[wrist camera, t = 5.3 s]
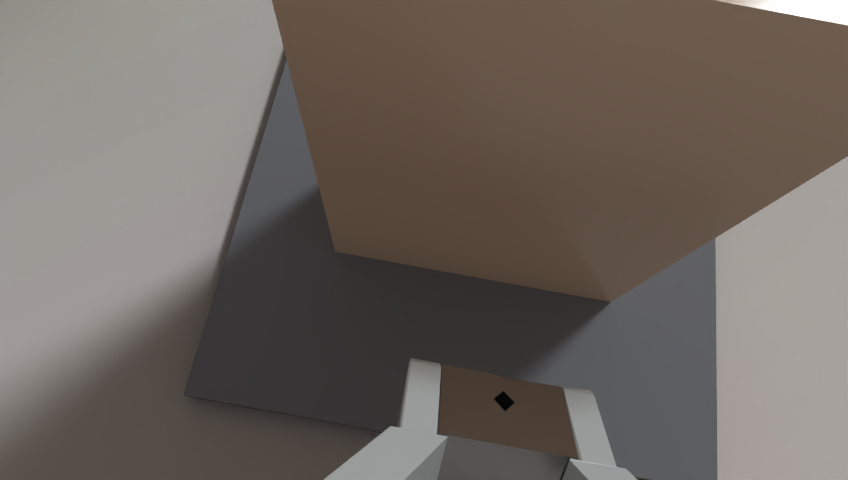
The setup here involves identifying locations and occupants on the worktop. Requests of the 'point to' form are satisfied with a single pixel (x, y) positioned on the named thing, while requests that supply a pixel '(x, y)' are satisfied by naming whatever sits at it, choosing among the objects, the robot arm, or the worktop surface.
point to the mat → (444, 327)
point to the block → (561, 127)
